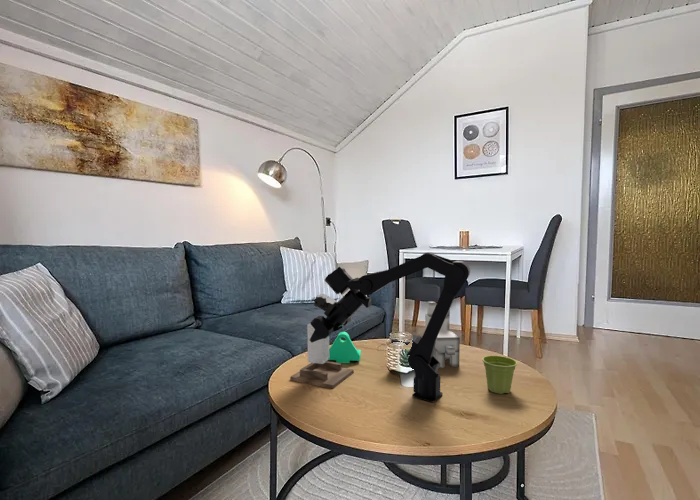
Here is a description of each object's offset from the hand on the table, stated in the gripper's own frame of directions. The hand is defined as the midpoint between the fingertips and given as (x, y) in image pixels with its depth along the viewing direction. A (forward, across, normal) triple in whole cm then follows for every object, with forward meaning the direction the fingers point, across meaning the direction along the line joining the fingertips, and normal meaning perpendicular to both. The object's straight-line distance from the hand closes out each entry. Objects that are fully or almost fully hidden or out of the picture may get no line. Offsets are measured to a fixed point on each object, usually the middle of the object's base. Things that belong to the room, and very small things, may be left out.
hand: (314, 338), depth 119 cm
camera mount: (+8, -20, +10) cm, 24 cm away
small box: (-8, -20, +26) cm, 34 cm away
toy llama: (-15, -31, +34) cm, 49 cm away
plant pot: (-28, -12, +47) cm, 56 cm away
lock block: (+4, 0, +6) cm, 7 cm away
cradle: (+8, -3, +10) cm, 13 cm away
